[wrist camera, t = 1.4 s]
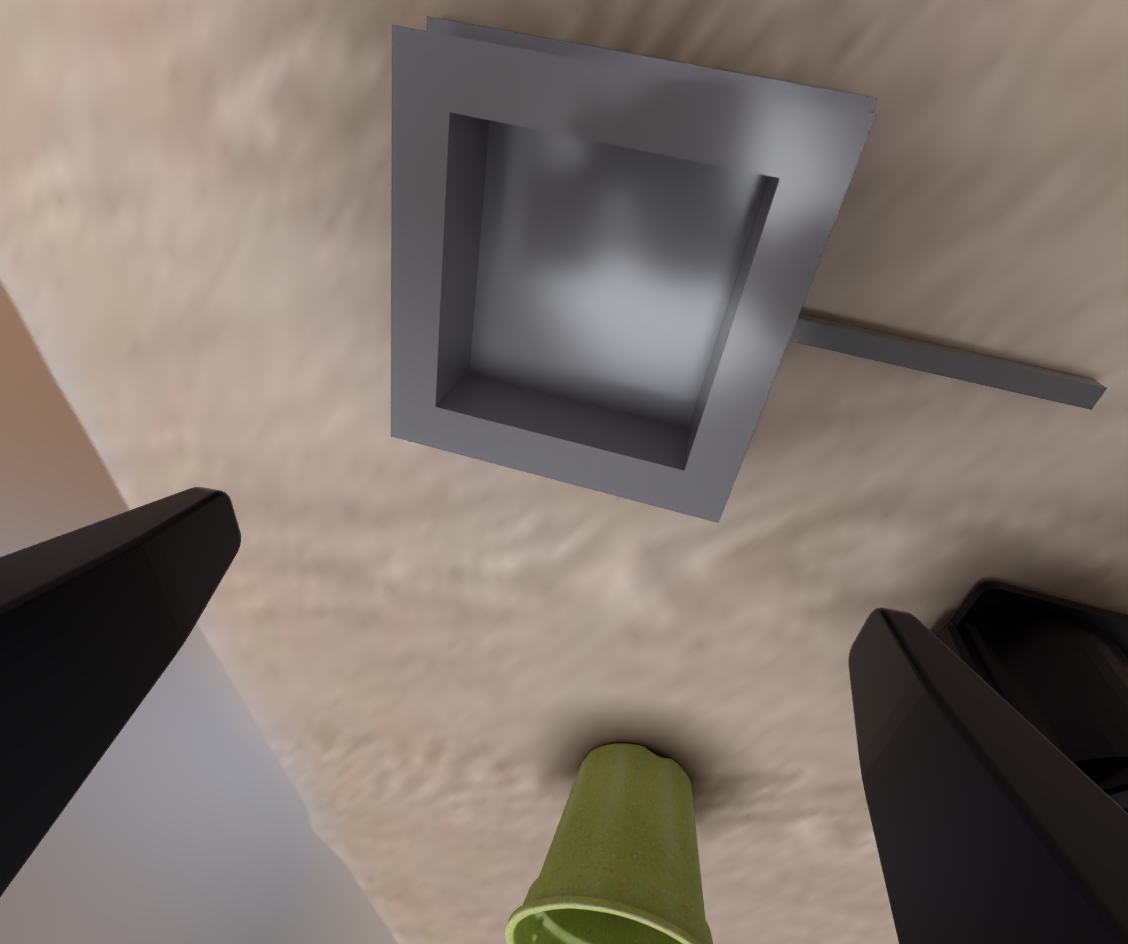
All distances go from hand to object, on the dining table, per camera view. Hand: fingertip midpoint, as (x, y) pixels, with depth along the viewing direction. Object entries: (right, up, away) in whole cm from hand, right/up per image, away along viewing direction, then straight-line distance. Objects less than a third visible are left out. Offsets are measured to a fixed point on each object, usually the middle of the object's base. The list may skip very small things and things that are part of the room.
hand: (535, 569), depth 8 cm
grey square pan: (+6, +6, +10) cm, 14 cm away
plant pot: (+4, -15, +24) cm, 29 cm away
